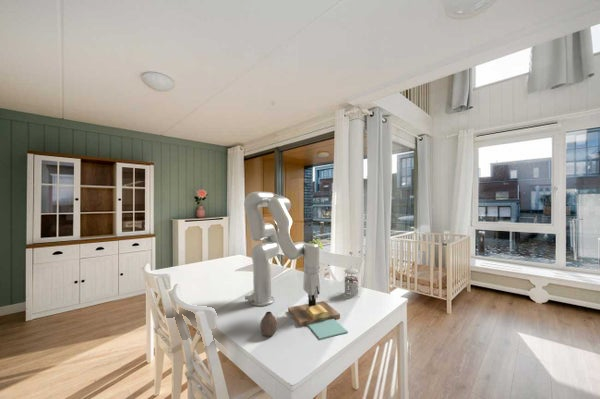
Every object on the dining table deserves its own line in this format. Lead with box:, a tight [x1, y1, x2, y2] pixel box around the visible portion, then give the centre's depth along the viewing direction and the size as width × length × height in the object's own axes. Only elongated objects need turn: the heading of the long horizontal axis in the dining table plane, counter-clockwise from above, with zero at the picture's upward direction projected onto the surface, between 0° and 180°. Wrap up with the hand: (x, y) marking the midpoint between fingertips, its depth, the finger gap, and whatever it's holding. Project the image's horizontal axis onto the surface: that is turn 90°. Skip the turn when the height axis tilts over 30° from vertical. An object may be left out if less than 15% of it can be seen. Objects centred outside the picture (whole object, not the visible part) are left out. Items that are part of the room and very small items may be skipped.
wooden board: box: [287, 300, 341, 328], centre depth 119 cm, size 20×16×2 cm
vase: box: [259, 311, 278, 337], centre depth 102 cm, size 7×7×9 cm
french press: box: [342, 251, 361, 299], centre depth 144 cm, size 10×12×25 cm
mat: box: [307, 319, 349, 341], centre depth 106 cm, size 13×12×1 cm
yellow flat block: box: [306, 305, 328, 320], centre depth 115 cm, size 7×8×2 cm
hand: (312, 307), depth 120 cm, fingers closed
